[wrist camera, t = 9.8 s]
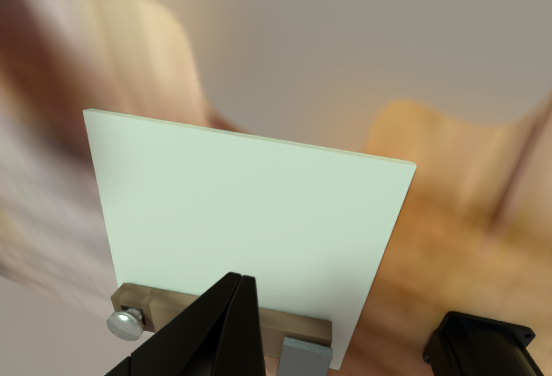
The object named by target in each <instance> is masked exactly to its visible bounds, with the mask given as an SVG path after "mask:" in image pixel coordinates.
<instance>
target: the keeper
mask: <svg viewBox="0 0 552 376" xmlns="http://www.w3.org/2000/svg"><path fill="white" fill-rule="evenodd" d="M332 358H333V348H330V347H326V346H322V345H318V344H314V343H309V342H305V341H301V340H297V339H293V338H288V337H284V342H283V347H282V351H281V356H280V359H279V362H278V368H277V374H276V376H326V375H327V372H328V369H329V367H330V364H331V361H332Z"/></svg>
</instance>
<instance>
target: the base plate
mask: <svg viewBox="0 0 552 376" xmlns="http://www.w3.org/2000/svg"><path fill="white" fill-rule="evenodd" d="M83 115H84V120H85V125H86V130H87V135H88V140H89V145H90V150H91V155H92V160H93V165H94V170H95V174H96V179H97V184H98V189H99V194H100V199H101V204H102V209H103V214H104V219H105V224H106V229H107V234H108V239H109V243H110V248H111V253H112V258H113V263H114V268H115V273H116V278H117V283H118V288H119V287H120V286H121V285H122V284H123V283H129V284H134V285H140V286H145V287H151V288H156V289H161V290H167V291H172V292H178V293H183V294H188V295H194V296H200V295H202V294H203V293H204V292H205V291H206V290H208V289H209V288H210V287H211V286H212V285H214V284H215V283H216V282H217V281H218V280H220V279H221V278H222V277H223V276H224V275H225V274H227V273H228V272H236V273H240V274H242V276H243V275H249V276H254V277H255V278H256V284H257V294H258V303H259V308H264V309H269V310H274V311H280V312H285V313H291V314H296V315H301V316H307V317H312V318H318V319H323V320H328V321H332V344H331V348H333V358H332V361H331V364H330V367H329V368H332V369H336V370H339V368H340V366H341V363H342V361H343V358H344V355H345V353H346V350H347V348H348V345H349V342H350V340H351V337H352V334H353V332H354V329H355V327H356V324H357V321H358V319H359V316H360V314H361V311H362V308H363V306H364V303H365V300H366V298H367V295H368V293H369V290H370V287H371V285H372V282H373V279H374V277H375V274H376V272H377V269H378V266H379V264H380V261H381V259H382V256H383V253H384V251H385V248H386V245H387V243H388V240H389V238H390V235H391V232H392V230H393V227H394V225H395V222H396V219H397V217H398V214H399V211H400V209H401V206H402V204H403V201H404V198H405V196H406V193H407V191H408V188H409V185H410V183H411V180H412V177H413V175H414V172H415V170H416V167H417V166H416V165H415V163H414V162H411V161H405V160H399V159H393V158H387V157H381V156H375V155H369V154H363V153H357V152H351V151H345V150H339V149H333V148H327V147H321V146H315V145H309V144H303V143H297V142H291V141H285V140H279V139H273V138H267V137H261V136H255V135H249V134H243V133H237V132H231V131H225V130H219V129H213V128H207V127H201V126H195V125H189V124H183V123H177V122H171V121H165V120H159V119H153V118H147V117H141V116H135V115H129V114H123V113H117V112H111V111H105V110H99V109H93V108H90V109H86V110H83ZM143 316H144V313H143V309H138V308H133V307H129V308H128V309H127V310H126V311H124V310H117V311H115V312H113V313H112V315H111V316H110V317H109V318H108V320H107V326H108V328H109V330H110V331H111V332H112V333H113V334H115V335H116V336H117V337H119V338H121V339H124V340H127V341H135V340H138V339H139V338H140V336H141V335H142V333H143V332H144V329H145V328H144V324H143V322H142V321H141V319H142V318H143Z"/></svg>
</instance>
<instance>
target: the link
mask: <svg viewBox="0 0 552 376" xmlns="http://www.w3.org/2000/svg"><path fill="white" fill-rule="evenodd" d="M198 297H199V296H194V295H188V294H183V293H178V292H172V291H167V290H161V289H156V288H151V287H145V286H140V285H134V284H129V283H123V284H122V285H121V286H120V287H119V288H118V290H117V291H116V292H115V293H114V294H113V295H112V296H111V300H112V303H113V307H114V310H115V311H117V310H124V311H126V310H127V309H128V308H129V307H133V308H138V309H143V313H144V316H143V318H142V319H141V321H142V322H143V324H144V328H145V329H144V330H145V331H149V332H154V333H156V332H157V331H159V330H160V329H161V328H162V327H163V326H165V325H166V324H167V323H168V322H169V321H171V320H172V319H173V318H174V317H175V316H177V315H178V314H179V313H180V312H181V311H183V310H184V309H185V308H186V307H187V306H188V305H190V304H191V303H192V302H193V301H194V300H196V299H197V298H198ZM259 313H260V323H261V332H262V342H263V351H264V355H265V356H270V357H274V358H279V359H280V356H281V351H282V347H283V342H284V337H288V338H293V339H297V340H301V341H305V342H309V343H314V344H318V345H322V346H326V347H330V348H331V344H332V321H328V320H323V319H318V318H312V317H307V316H301V315H296V314H291V313H285V312H280V311H274V310H269V309H264V308H259Z"/></svg>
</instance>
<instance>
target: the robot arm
mask: <svg viewBox="0 0 552 376" xmlns="http://www.w3.org/2000/svg"><path fill="white" fill-rule="evenodd" d="M534 338H535V333H534V332H533V331H532V329H531V328H528V327H524V326H520V325H515V324H510V323H506V322H501V321H496V320H492V319H487V318H482V317H478V316H473V315H469V314H464V313H459V312H449V313H448V314H447V315H446V317H445V318H444V320H443V322H442V323H441V325H440V327H439V328H438V330H437V332H436V333H435V335H434V336H433V338H432V340H431V341H430V343H429V345H428V346H427V348H426V350H425V352H424V354H423V356H422V357H423V360H424V362H425V363H427V364H431V367H432V370H433V373H434V376H544V375H543V373H542V372H541V370H540V369H539V367H538V366H537V364H536V363H535V361H534V360H533V358H532V357H531V356H530V354H529V353H528V351H527V350H526V347H527V346H528V345H529V343H530V342H531V341H532V340H533V339H534ZM104 376H266V371H265V361H264V351H263V342H262V332H261V323H260V313H259V303H258V294H257V284H256V278H255V277H254V276H249V275H243V276H242V274H240V273H236V272H228V273H227V274H225V275H224V276H223V277H222V278H221V279H220V280H218V281H217V282H216V283H215V284H214V285H212V286H211V287H210V288H209V289H208V290H206V291H205V292H204V293H203V294H202V295H200V296H199V297H198V298H197V299H196V300H194V301H193V302H192V303H191V304H190V305H188V306H187V307H186V308H185V309H184V310H183V311H181V312H180V313H179V314H178V315H177V316H175V317H174V318H173V319H172V320H171V321H169V322H168V323H167V324H166V325H165V326H163V327H162V328H161V329H160V330H159V331H157V332H156V333H155V334H154V335H153V336H152V337H150V338H149V339H148V340H147V341H146V342H144V343H143V344H142V345H141V346H140V347H138V348H137V349H136V350H135V351H134V352H132V353H131V357H130V356H127V357H126V358H125V359H124V360H123V361H122V362H120V363H119V364H118V365H117V366H116V367H114V368H113V369H112V370H111V371H109V372H108V373H107V374H106V375H104Z"/></svg>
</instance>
